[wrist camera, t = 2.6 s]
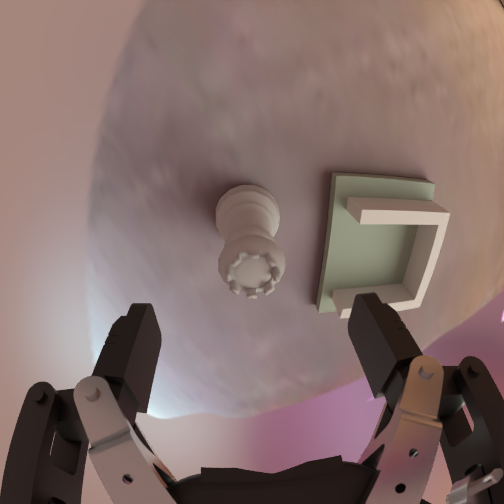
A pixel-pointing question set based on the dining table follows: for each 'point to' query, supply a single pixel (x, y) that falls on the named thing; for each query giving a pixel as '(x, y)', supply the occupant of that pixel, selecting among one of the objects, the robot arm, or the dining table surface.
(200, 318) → the dining table surface
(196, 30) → the dining table surface
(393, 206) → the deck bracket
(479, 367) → the robot arm
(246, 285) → the rook chess piece
